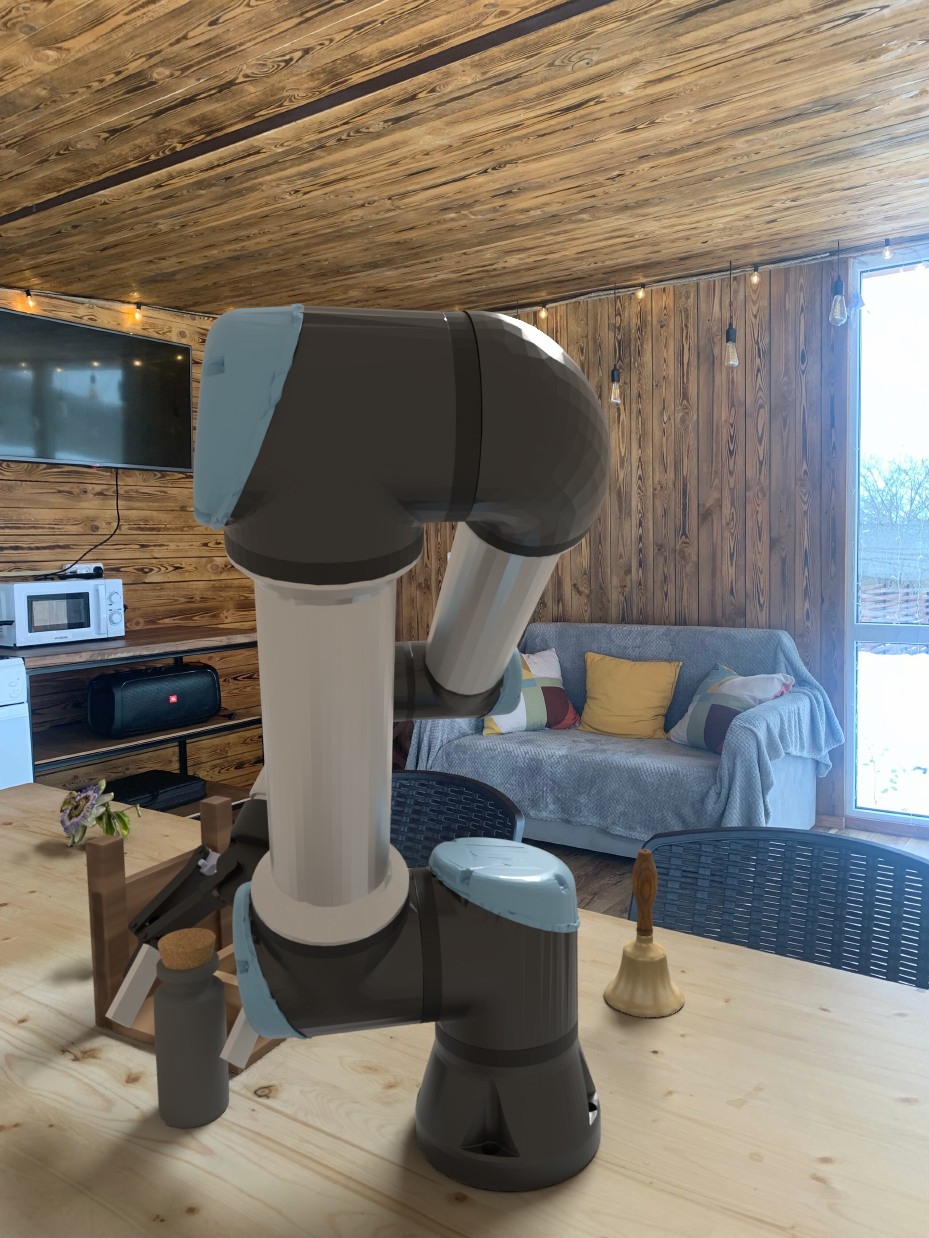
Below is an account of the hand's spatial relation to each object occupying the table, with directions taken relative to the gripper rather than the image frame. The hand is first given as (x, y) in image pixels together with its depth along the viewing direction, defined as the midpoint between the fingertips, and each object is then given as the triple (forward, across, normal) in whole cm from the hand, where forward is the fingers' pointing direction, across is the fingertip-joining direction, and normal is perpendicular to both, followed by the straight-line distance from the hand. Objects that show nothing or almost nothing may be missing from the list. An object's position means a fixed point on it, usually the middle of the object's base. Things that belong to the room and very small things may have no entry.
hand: (172, 1042), depth 77 cm
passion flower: (-27, +66, -40) cm, 82 cm away
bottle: (+4, -1, -6) cm, 7 cm away
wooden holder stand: (-6, +8, -16) cm, 19 cm away
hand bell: (-21, -29, -31) cm, 48 cm away
